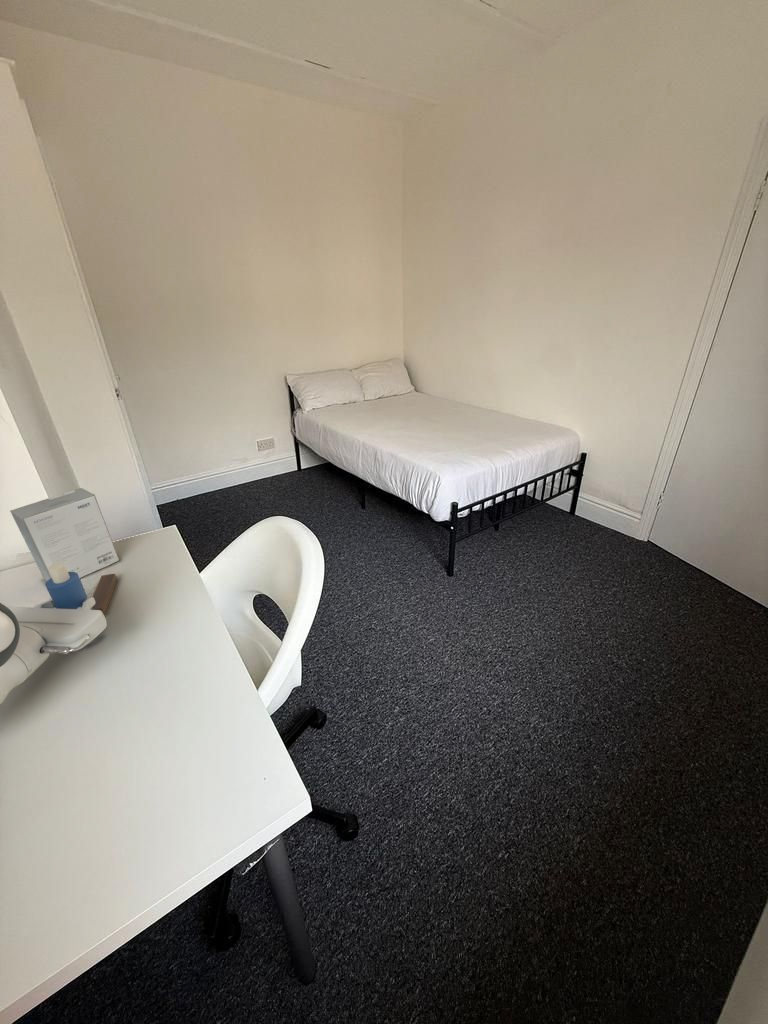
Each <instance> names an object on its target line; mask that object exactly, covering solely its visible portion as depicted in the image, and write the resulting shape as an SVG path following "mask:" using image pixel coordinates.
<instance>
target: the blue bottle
mask: <svg viewBox="0 0 768 1024" xmlns="http://www.w3.org/2000/svg"><path fill="white" fill-rule="evenodd" d="M48 571H49V573H50V575H51V578H50V579H49V580H48V581H47V582H46V581H45V584H44V585H45V588H46V590H47V592H48V594H49V597H50V599H51V598H52V600H53V603H54V605H55V607H56V608H57V609H77V608H79V607H81V608H82V605H81V603H80V601H81V600H83V599H84V598H85V597H88V595H87V592H86V590H85V587H84V586H83V585H84V584H83V582H82V580H81V578H79V576H78V574H77V573H76V572H68V571H67V569H66V567H65V564H64V563H56V564H53V565H51V566H50V567H48ZM90 610H93V609H92V608H91V609H90Z"/></svg>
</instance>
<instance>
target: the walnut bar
mask: <svg viewBox="0 0 768 1024" xmlns="http://www.w3.org/2000/svg"><path fill="white" fill-rule="evenodd" d="M116 575H117V574H116V573H110V574H104V575H101V576H100V578H99V580H98V582H97V585H96V587H95V589H94V592H93V595H92V596H91V597H94V599H95V605H94V606H93V607H92V609H93V610H101V611H102V612H103V614H104V616H105V614H106V611H107V609H108V606H109V603H110V601H111V599H112V595H113V592H114V590H115V587H116V585H117V582H118V578H117V576H116Z"/></svg>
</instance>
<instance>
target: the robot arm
mask: <svg viewBox="0 0 768 1024" xmlns="http://www.w3.org/2000/svg"><path fill="white" fill-rule="evenodd" d="M80 603H81V605H82V608H81V607H79V608H77V609H57V608H56V607H55V605H54V603H53V600H52V598H51V597H50V599H48V600H45V601H43V602H40V603H38V604H35V605H34V606H33V607H28V606H6V605H5V604H3V603H2V602H0V705H1V704H2V703H3V702H4V701H5V699H6V698H7V696H8V695H9V693H10V692H11V691H12V690H14V689H15V688H16V687H17V686H20V685H21V684H23V683H24V682H25V681H26V680H27V679H28V678H29V677H30V676H31V675H33V673H34V672H35V671H36V670H38V668H40V666H41V665H43V664H44V662H45V661H47V659H49V656H50V655H51V654H59V655H68V654H69V653H71V652H76V651H80V650H81V649H83V648H84V647H86V646H87V645H88V644H90V643H91V642H92V641H94V640H95V639H96V638H97V637H98V636H99V635H101V633H102V632H104V630H106V628H107V626H108V624H107V623H108V622H107V619H106V617H105V615H104V614H103V612H102V611H101V610H90V609H91V608H92V607H93V606H94V605H95V599H94V597H92V596H87V597H85V598H84V599H83V600H81V601H80Z"/></svg>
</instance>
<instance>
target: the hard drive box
mask: <svg viewBox="0 0 768 1024" xmlns="http://www.w3.org/2000/svg"><path fill="white" fill-rule="evenodd" d="M9 513H10V514H11V516H12V518H13V520H14V522H15V524H16V527H17V528H18V530H19V532H20V534H21V537H22V538H23V540H24V542H25V544H26V546H27V549H28V550H29V552H30V554H31V556H32V559H33V561H34V562H35V564H36V566H37V568H38V570H39V572H40V574H41V577H42V578H43V580H44V581H45V583H46V582H47V581H48V580H49V579H50V578H51V575H50V573H49V571H48V567H50V566H51V565H53V564H56V563H64V564H65V567H66V569H67V571H68V572H76V573H77V574H78V576H79V578H80V579H82V578H83V577H85V576H88V575H90V574H92V573H94V572H97V571H99V570H101V569H104V568H106V567H108V566H110V565H113V564H115V563H117V562H119V561H120V557H119V554H118V553H117V549H116V548H115V545H114V543H113V540H112V537H111V534H110V532H109V530H108V526H107V524H106V521H105V518H104V516H103V513H102V511H101V508H100V505H99V502H98V500H97V497H96V494H95V493H92V492H90V491H88V490H87V489H85V488H83V487H80V488H76V489H73V490H69V491H67V492H63V493H61V494H57V495H54V496H50V497H48V498H45V499H41V500H39V501H36V502H32V503H29V504H26V505H23V506H20V507H17V508H14V509H11V510H9Z"/></svg>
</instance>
